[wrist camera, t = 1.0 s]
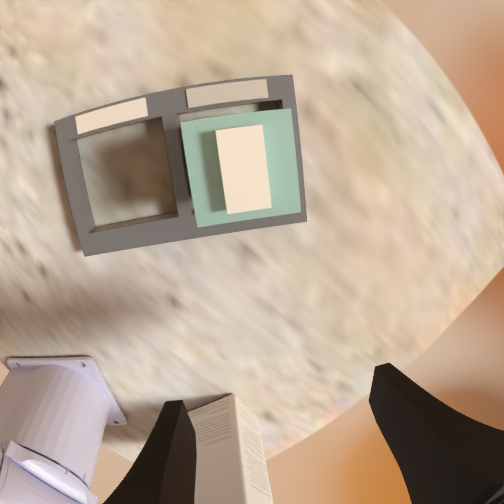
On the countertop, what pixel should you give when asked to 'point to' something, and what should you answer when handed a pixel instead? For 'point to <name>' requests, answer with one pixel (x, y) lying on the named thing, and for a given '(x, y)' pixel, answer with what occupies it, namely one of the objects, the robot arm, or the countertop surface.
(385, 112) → the countertop surface
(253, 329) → the countertop surface
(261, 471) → the skincare box
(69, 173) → the dock
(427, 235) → the countertop surface
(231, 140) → the plug
